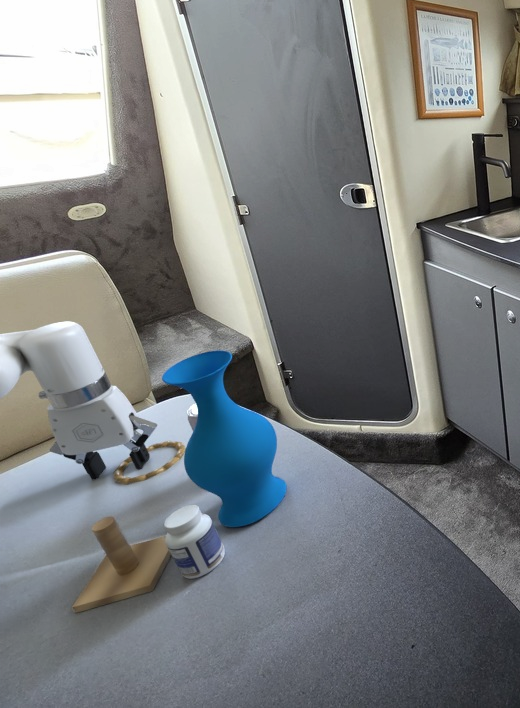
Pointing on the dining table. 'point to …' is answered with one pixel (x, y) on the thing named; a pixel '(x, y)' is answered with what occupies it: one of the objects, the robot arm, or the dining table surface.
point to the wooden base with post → (122, 567)
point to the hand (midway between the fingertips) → (121, 468)
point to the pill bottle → (193, 541)
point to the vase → (227, 443)
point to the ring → (126, 480)
